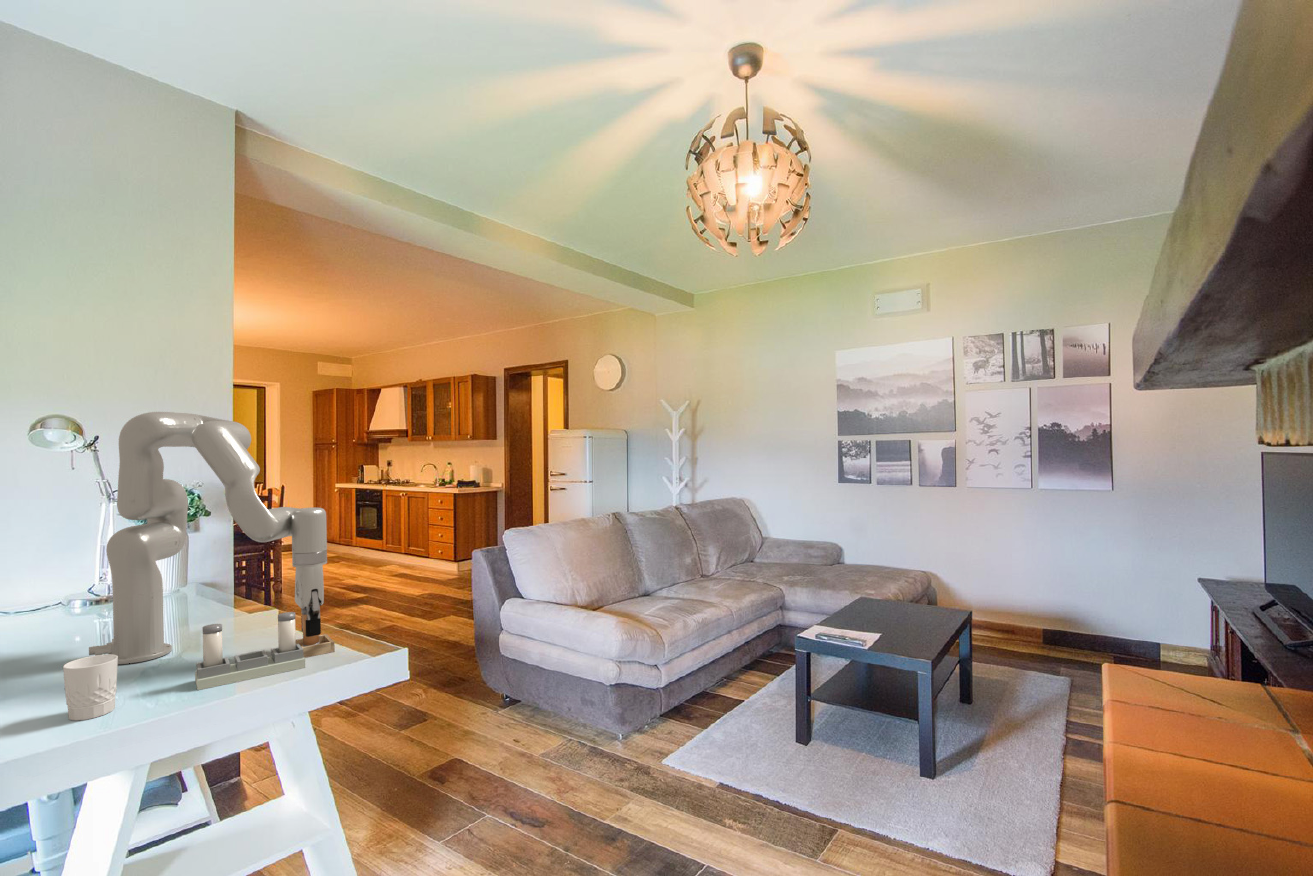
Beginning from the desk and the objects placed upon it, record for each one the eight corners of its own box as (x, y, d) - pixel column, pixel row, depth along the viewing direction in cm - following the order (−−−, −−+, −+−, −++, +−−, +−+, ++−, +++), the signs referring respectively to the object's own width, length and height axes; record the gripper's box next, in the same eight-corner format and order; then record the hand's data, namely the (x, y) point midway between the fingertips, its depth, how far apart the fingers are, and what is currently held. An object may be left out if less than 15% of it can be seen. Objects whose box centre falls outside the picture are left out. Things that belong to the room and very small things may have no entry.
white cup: (128, 707, 126) (127, 656, 126) (81, 724, 119) (80, 670, 119) (101, 703, 129) (100, 652, 129) (53, 719, 121) (52, 666, 121)
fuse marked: (304, 651, 156) (302, 610, 155) (302, 647, 159) (299, 607, 158) (320, 647, 158) (318, 607, 158) (317, 643, 161) (315, 604, 160)
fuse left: (203, 676, 137) (203, 629, 137) (202, 672, 139) (201, 626, 139) (223, 672, 139) (222, 626, 139) (222, 668, 141) (221, 622, 141)
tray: (295, 659, 152) (295, 649, 152) (288, 650, 159) (288, 641, 159) (334, 651, 158) (334, 641, 158) (326, 643, 164) (326, 634, 164)
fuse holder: (197, 690, 134) (197, 671, 134) (195, 680, 140) (194, 662, 140) (305, 667, 147) (304, 650, 147) (299, 659, 152) (299, 642, 152)
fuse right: (279, 661, 145) (279, 617, 145) (277, 657, 148) (276, 614, 148) (297, 658, 147) (296, 614, 147) (294, 654, 150) (293, 611, 150)
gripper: (286, 556, 163) (287, 628, 163) (299, 565, 149) (300, 644, 149) (319, 552, 167) (320, 623, 167) (334, 561, 154) (335, 638, 154)
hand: (311, 632), depth 158 cm, fingers open, 4 cm apart
